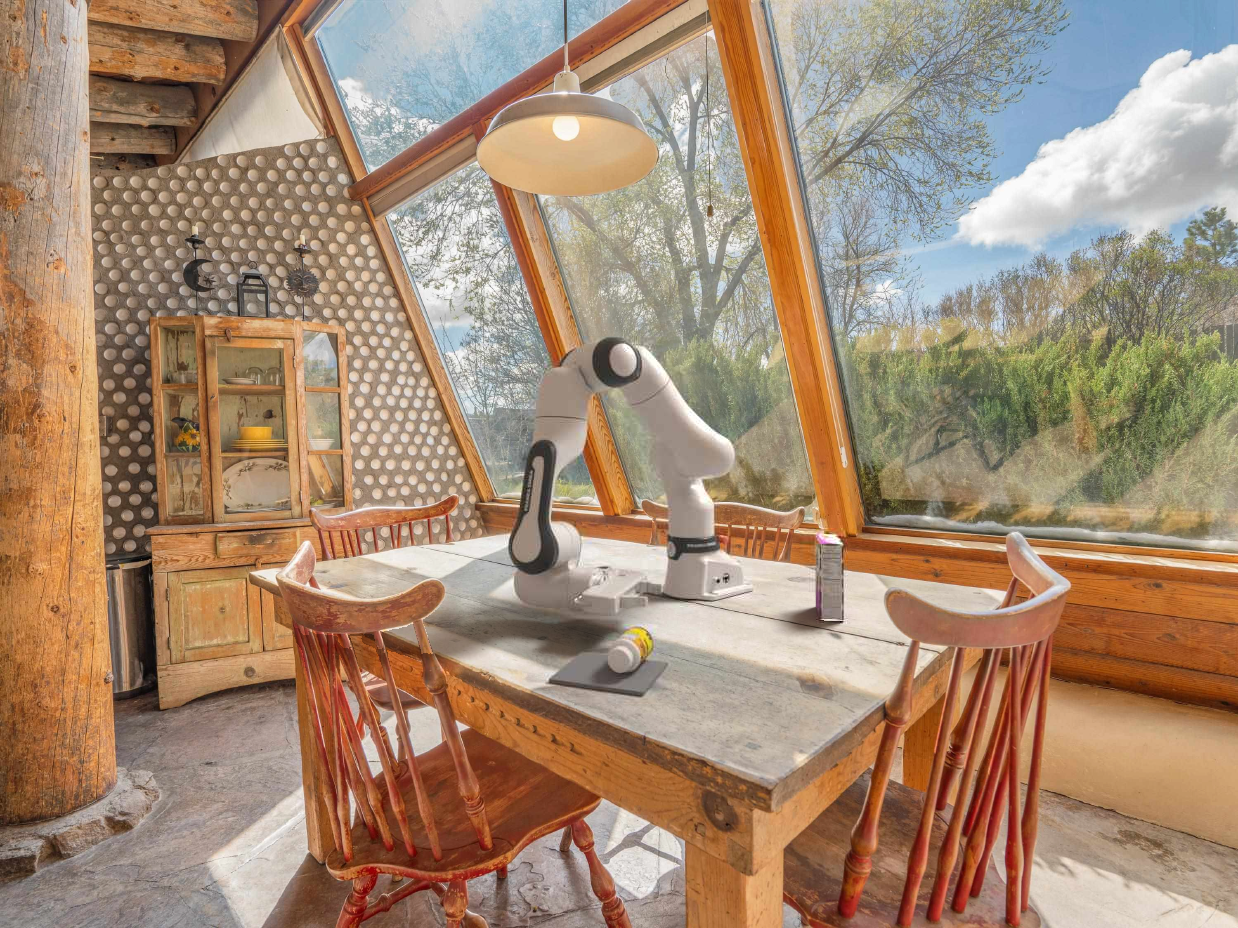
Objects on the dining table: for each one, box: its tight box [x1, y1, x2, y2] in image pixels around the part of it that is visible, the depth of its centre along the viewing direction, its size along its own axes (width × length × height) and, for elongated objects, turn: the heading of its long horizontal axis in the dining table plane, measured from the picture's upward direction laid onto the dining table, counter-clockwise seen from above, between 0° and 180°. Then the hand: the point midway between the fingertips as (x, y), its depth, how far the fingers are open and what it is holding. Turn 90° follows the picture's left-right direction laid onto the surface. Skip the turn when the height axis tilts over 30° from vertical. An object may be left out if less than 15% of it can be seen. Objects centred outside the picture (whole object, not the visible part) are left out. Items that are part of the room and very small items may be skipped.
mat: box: [548, 651, 669, 697], centre depth 107 cm, size 13×16×1 cm
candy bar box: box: [814, 533, 845, 621], centre depth 138 cm, size 11×5×16 cm, turn 168°
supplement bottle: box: [607, 625, 655, 673], centre depth 109 cm, size 6×6×10 cm
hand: (654, 595), depth 126 cm, fingers open, 8 cm apart
